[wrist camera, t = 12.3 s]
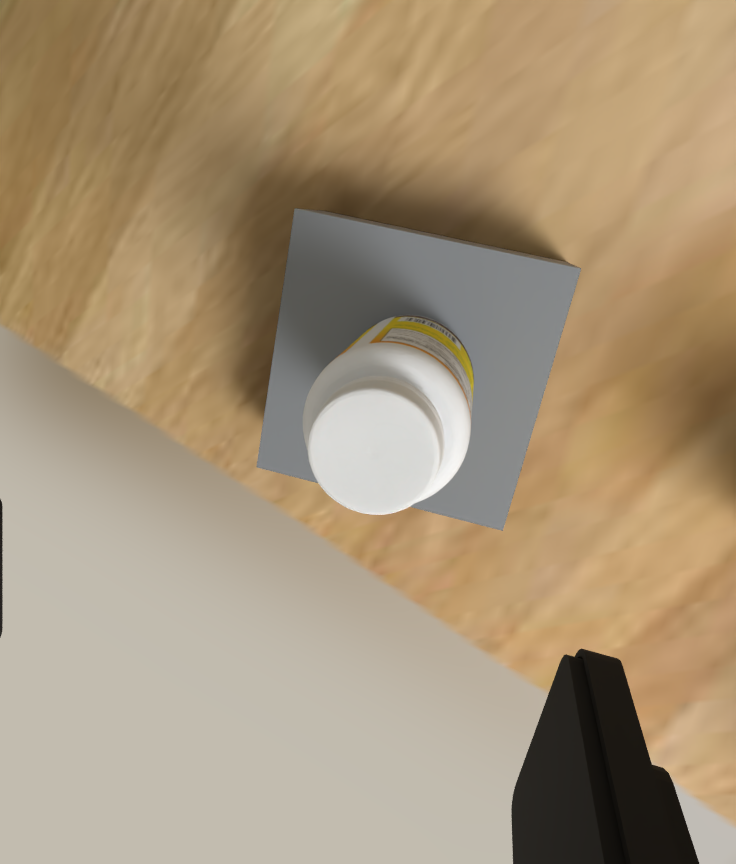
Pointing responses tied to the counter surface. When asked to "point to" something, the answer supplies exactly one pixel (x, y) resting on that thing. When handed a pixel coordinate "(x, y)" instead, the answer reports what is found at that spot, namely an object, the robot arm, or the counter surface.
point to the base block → (433, 298)
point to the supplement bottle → (391, 416)
